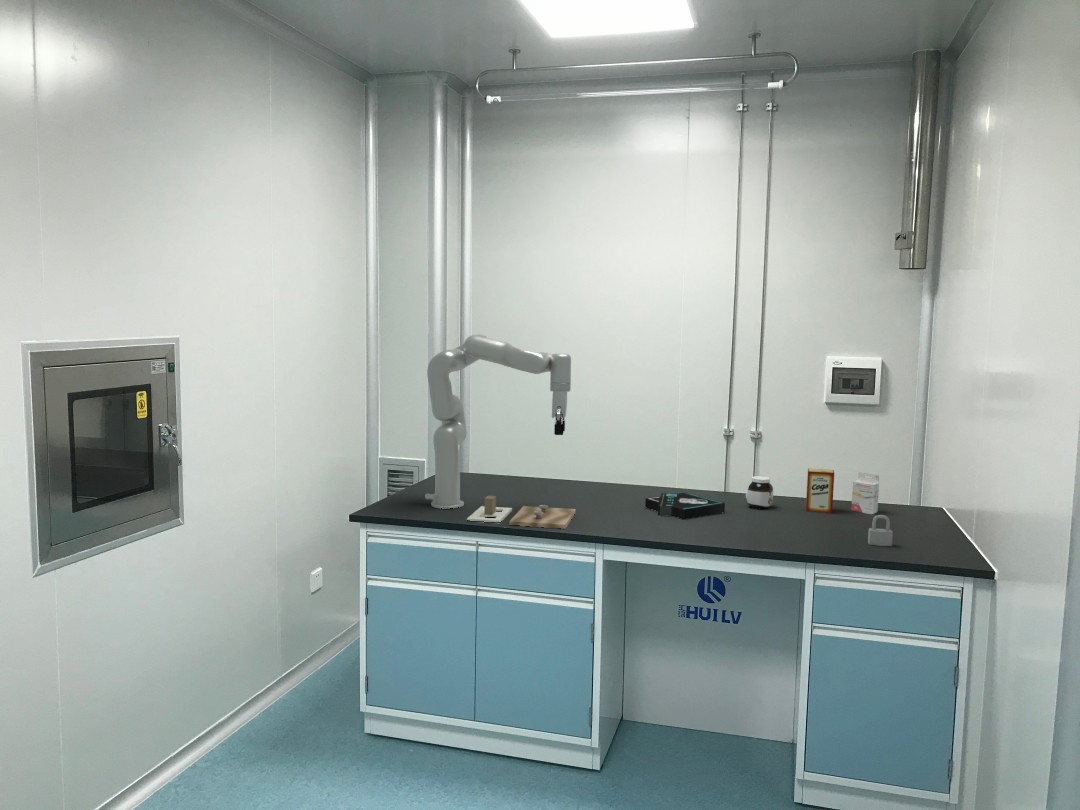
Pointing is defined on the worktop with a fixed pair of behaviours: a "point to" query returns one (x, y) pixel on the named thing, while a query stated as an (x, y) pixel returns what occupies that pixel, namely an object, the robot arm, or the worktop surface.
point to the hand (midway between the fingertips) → (559, 433)
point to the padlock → (880, 533)
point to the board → (543, 517)
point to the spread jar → (760, 492)
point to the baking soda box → (820, 490)
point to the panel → (482, 517)
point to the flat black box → (684, 505)
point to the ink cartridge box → (865, 493)
